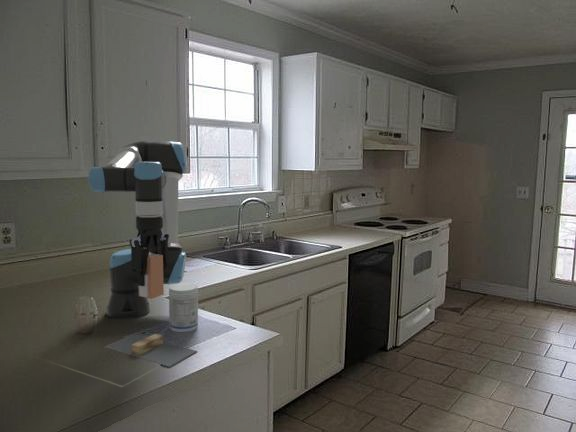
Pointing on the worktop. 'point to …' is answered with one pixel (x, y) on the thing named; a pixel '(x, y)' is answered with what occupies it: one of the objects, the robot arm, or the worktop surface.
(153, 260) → the block
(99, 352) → the worktop surface
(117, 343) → the mat
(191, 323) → the supplement tub
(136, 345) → the ledge
